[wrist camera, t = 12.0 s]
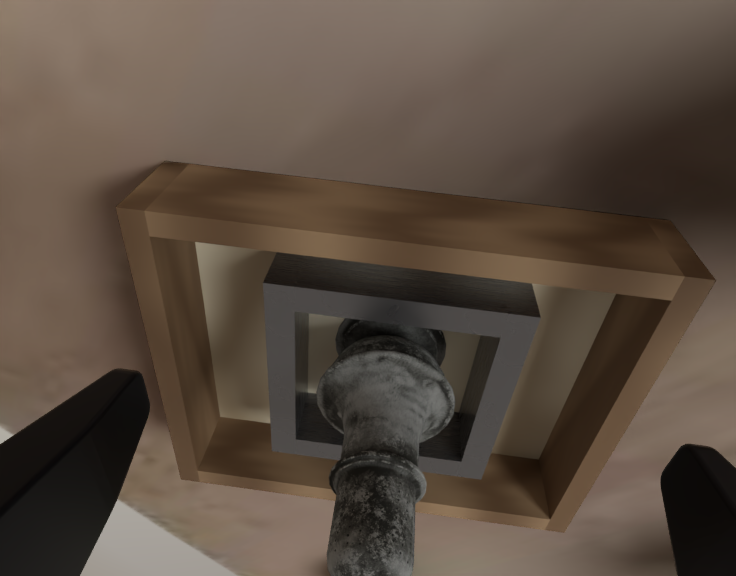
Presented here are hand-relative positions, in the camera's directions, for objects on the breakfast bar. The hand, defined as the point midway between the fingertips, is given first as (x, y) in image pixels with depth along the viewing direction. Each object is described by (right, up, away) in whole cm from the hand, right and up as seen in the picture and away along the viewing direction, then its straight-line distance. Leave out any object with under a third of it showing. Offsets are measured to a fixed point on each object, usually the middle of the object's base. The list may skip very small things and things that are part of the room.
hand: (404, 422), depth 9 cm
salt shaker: (+1, 0, +16) cm, 16 cm away
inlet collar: (+1, 0, +16) cm, 16 cm away
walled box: (+1, 0, +16) cm, 16 cm away
